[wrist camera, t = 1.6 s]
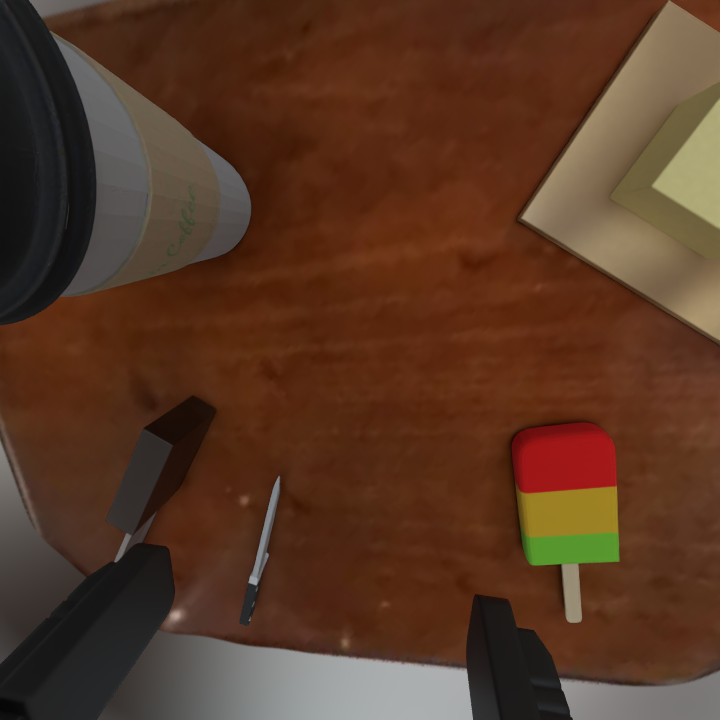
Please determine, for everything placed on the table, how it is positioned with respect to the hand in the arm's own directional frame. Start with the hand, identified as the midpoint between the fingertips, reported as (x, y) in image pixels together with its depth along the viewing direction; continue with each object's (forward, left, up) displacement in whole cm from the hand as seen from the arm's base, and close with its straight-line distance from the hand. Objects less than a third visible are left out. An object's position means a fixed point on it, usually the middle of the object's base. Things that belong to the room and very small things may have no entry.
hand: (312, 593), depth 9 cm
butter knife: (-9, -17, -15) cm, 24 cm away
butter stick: (+7, +17, -14) cm, 24 cm away
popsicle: (+16, -2, -15) cm, 22 cm away
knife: (0, -16, -15) cm, 22 cm away
